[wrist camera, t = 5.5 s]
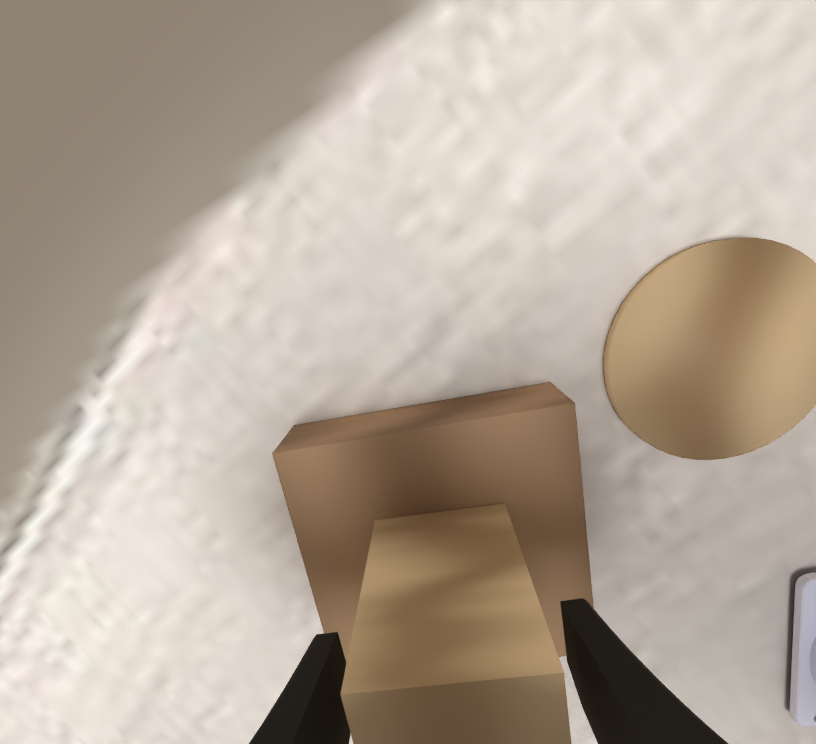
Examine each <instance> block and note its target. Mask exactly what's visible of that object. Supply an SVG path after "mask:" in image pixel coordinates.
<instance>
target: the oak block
mask: <svg viewBox="0 0 816 744" xmlns="http://www.w3.org/2000/svg"><path fill="white" fill-rule="evenodd" d="M340 695H341V699H342V702H343V706H344V710H345V713H346V717H347V721H348V725H349V728H350V732H351V736H352V739H353V743H354V744H571V736H570V727H569V717H568V708H567V698H566V688H565V679H564V672H563V669H562V666H561V663H560V660H559V657H558V654H557V651H556V649H555V646H554V643H553V640H552V637H551V634H550V631H549V629H548V626H547V623H546V620H545V617H544V614H543V611H542V608H541V606H540V603H539V600H538V597H537V594H536V591H535V588H534V585H533V583H532V580H531V577H530V574H529V571H528V568H527V565H526V563H525V560H524V557H523V554H522V551H521V548H520V545H519V542H518V540H517V537H516V534H515V531H514V528H513V525H512V522H511V519H510V517H509V514H508V511H507V508H506V505H505V503H503V504H495V505H488V506H480V507H472V508H465V509H457V510H450V511H442V512H434V513H427V514H419V515H411V516H404V517H396V518H389V519H381V520H375V522H374V527H373V532H372V537H371V542H370V547H369V552H368V557H367V562H366V567H365V573H364V578H363V583H362V588H361V593H360V598H359V603H358V608H357V613H356V618H355V623H354V628H353V633H352V638H351V643H350V648H349V654H348V659H347V664H346V669H345V674H344V679H343V684H342V689H341V694H340Z"/></svg>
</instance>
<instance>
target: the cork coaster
mask: <svg viewBox="0 0 816 744" xmlns="http://www.w3.org/2000/svg"><path fill="white" fill-rule="evenodd" d="M604 378H605V385H606V389H607V392H608V395H609V398H610V401H611V403H612V405H613V407H614V409H615V411H616V412H617V414H618V415H619V417H620V418H621V420H622V421H623V422H624V423H625V424H626V425H627V426H628V427H629V429H630V430H632V431H633V432H634V433H635V434H637V435H638V436H639V437H640V438H642V439H643V440H644V441H646V442H647V443H649V444H650V445H652V446H654V447H655V448H657V449H659V450H661V451H664V452H666V453H668V454H671V455H675V456H679V457H682V458H689V459H696V460H714V459H724V458H729V457H734V456H738V455H742V454H745V453H748V452H751V451H754V450H756V449H758V448H760V447H763V446H765V445H767V444H769V443H770V442H772V441H774V440H776V439H777V438H779V437H781V436H782V435H783V434H785V433H786V432H788V431H789V430H790V429H792V428H793V427H794V426H795V425H796V424H797V423H799V422H800V421H801V420H802V419H803V418H804V417H805V416H806V415H807V414H808V413H809V412H810V410H811V409H812V408H813V407H814V406H815V405H816V263H815V262H814V261H813V260H812V259H810V258H809V257H808V256H806V255H805V254H803V253H802V252H800V251H798V250H796V249H794V248H792V247H790V246H788V245H785V244H782V243H779V242H775V241H772V240H766V239H759V238H736V239H726V240H718V241H712V242H708V243H704V244H700V245H697V246H694V247H692V248H689V249H687V250H684V251H682V252H680V253H678V254H676V255H674V256H672V257H671V258H669V259H667V260H666V261H664V262H663V263H661V264H660V265H658V266H657V267H655V268H654V269H653V270H652V271H651V272H650V273H648V274H647V275H646V276H645V277H644V278H643V279H642V280H641V281H640V282H639V283H638V284H637V285H636V286H635V287H634V289H633V290H632V291H631V292H630V293H629V295H628V296H627V298H626V299H625V300H624V302H623V303H622V305H621V307H620V309H619V310H618V312H617V314H616V316H615V318H614V320H613V323H612V325H611V328H610V330H609V333H608V337H607V341H606V345H605V352H604Z"/></svg>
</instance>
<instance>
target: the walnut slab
mask: <svg viewBox="0 0 816 744" xmlns="http://www.w3.org/2000/svg"><path fill="white" fill-rule="evenodd" d="M272 454H273V458H274V461H275V465H276V468H277V471H278V475H279V478H280V482H281V485H282V489H283V492H284V496H285V499H286V503H287V506H288V510H289V513H290V516H291V520H292V523H293V527H294V530H295V534H296V537H297V541H298V544H299V548H300V551H301V554H302V558H303V561H304V565H305V568H306V572H307V575H308V579H309V582H310V586H311V589H312V593H313V596H314V599H315V603H316V606H317V610H318V613H319V617H320V620H321V624H322V627H323V631H324V634H325V633H332V632H338V635H339V638H340V642H341V645H342V649H343V652H344V656H345V660H346V663H347V659H348V654H349V648H350V643H351V638H352V633H353V628H354V623H355V618H356V613H357V608H358V603H359V598H360V593H361V588H362V583H363V578H364V573H365V567H366V562H367V557H368V552H369V547H370V542H371V537H372V532H373V527H374V522H375V520H381V519H389V518H396V517H404V516H411V515H419V514H427V513H434V512H442V511H450V510H457V509H465V508H472V507H480V506H488V505H495V504H503V503H505V505H506V508H507V511H508V514H509V517H510V519H511V522H512V525H513V528H514V531H515V534H516V537H517V540H518V542H519V545H520V548H521V551H522V554H523V557H524V560H525V563H526V565H527V568H528V571H529V574H530V577H531V580H532V583H533V585H534V588H535V591H536V594H537V597H538V600H539V603H540V606H541V608H542V611H543V614H544V617H545V620H546V623H547V626H548V629H549V631H550V634H551V637H552V640H553V643H554V646H555V649H556V651H557V654H558V657H561V656H567V655H566V646H565V638H564V630H563V621H562V613H561V605H560V601H565V600H573V599H580V598H584V599H585V600H586V601H588V602H589V604H590V605H591V606H592V607H593V597H592V586H591V575H590V564H589V554H588V543H587V532H586V521H585V510H584V499H583V488H582V477H581V466H580V455H579V444H578V433H577V422H576V411H575V403H574V402H573V401H572V400H570V399H569V398H568V397H567V396H566V395H564V394H563V393H562V392H561V391H560V390H559V389H557V388H556V387H555V386H554V385H553V384H552V383H550V382H547V383H542V384H536V385H530V386H524V387H518V388H512V389H506V390H500V391H494V392H488V393H483V394H477V395H471V396H465V397H459V398H453V399H447V400H441V401H435V402H429V403H424V404H418V405H412V406H406V407H400V408H394V409H388V410H382V411H376V412H370V413H365V414H359V415H353V416H347V417H341V418H335V419H329V420H323V421H317V422H311V423H305V424H300V425H294V426H293V428H292V429H291V430H290V431H289V433H288V434H287V435H286V437H285V438H284V439H283V440H282V442H281V443H280V444H279V446H278V447H277V448H276V449H275V451H274V452H273V453H272ZM593 609H594V608H593Z"/></svg>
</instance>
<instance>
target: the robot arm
mask: <svg viewBox="0 0 816 744" xmlns="http://www.w3.org/2000/svg"><path fill="white" fill-rule="evenodd" d="M560 605H561V613H562V621H563V630H564V638H565V646H566V655H567V662H568V665H569V668H570V671H571V674H572V677H573V680H574V683H575V686H576V689H577V692H578V695H579V698H580V701H581V704H582V707H583V709H584V712H585V714H586V716H587V719H588V721H589V723H590V726H591V728H592V730H593V733H594V735H595V737H596V740H597V742H598V744H728V743H727V742H726V741H725V740H723V739H722V738H721V737H720V736H719V735H718V734H716V733H715V732H714V731H713V730H712V729H711V728H710V727H708V726H707V725H706V724H705V723H704V722H703V721H702V720H701V719H700V718H698V717H697V716H696V715H695V714H694V713H693V712H692V711H691V710H690V709H689V708H688V707H686V706H685V705H684V704H683V703H682V702H681V701H680V700H679V699H678V698H677V697H676V696H675V695H674V694H673V693H672V692H671V691H670V690H669V689H668V688H667V687H666V686H665V685H664V684H662V683H661V682H660V681H659V680H658V679H657V678H656V677H655V676H654V675H653V674H652V672H651V671H650V670H649V669H648V668H647V667H646V666H645V665H644V664H643V663H642V662H641V661H640V660H639V659H638V658H637V657H636V656H635V655H634V654H633V653H632V652H631V651H630V650H629V649H628V648H627V646H626V645H625V644H624V643H623V642H622V641H621V640H620V639H619V638H618V637H617V635H616V634H615V633H614V632H613V631H612V630H611V629H610V628H609V626H608V625H607V624H606V623H605V622H604V621H603V619H602V618H601V617H600V616H599V615H598V614H597V612H596V611H595V610H594V609H593V607H592V606H591V605H590V604H589V602H588V601H586V600H585V599H584V598H580V599H573V600H565V601H560ZM346 664H347V663H346V660H345V656H344V652H343V649H342V645H341V642H340V638H339V635H338V632H332V633H325V634H317V635H316V636H315V637H314V639H313V640H312V642H311V644H310V646H309V647H308V649H307V651H306V653H305V654H304V656H303V658H302V660H301V661H300V663H299V665H298V666H297V668H296V670H295V672H294V673H293V675H292V677H291V678H290V680H289V682H288V683H287V685H286V687H285V688H284V690H283V692H282V693H281V695H280V696H279V698H278V700H277V701H276V703H275V704H274V706H273V708H272V709H271V711H270V712H269V714H268V716H267V717H266V719H265V720H264V722H263V723H262V725H261V727H260V728H259V729H258V731H257V732H256V734H255V735H254V737H253V738H252V740H251V741H250V743H249V744H349V739H350V728H349V725H348V721H347V717H346V713H345V710H344V706H343V702H342V699H341V695H340V694H341V689H342V684H343V679H344V674H345V669H346ZM790 716H791V717H792V718H793V719H794V721H795V722H796V723H797V724H798V725H800V726H803V727H811V726H816V572H815V573H808V574H804V575H802V576H800V577H799V578H798V579H797V581H796V584H795V604H794V626H793V648H792V670H791V692H790Z"/></svg>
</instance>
